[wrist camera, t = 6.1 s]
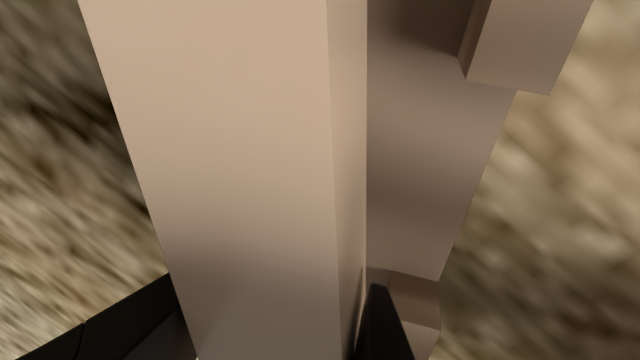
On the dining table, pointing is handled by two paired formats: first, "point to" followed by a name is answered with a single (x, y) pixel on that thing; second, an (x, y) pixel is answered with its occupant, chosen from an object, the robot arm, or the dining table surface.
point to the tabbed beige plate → (443, 127)
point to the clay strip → (248, 162)
